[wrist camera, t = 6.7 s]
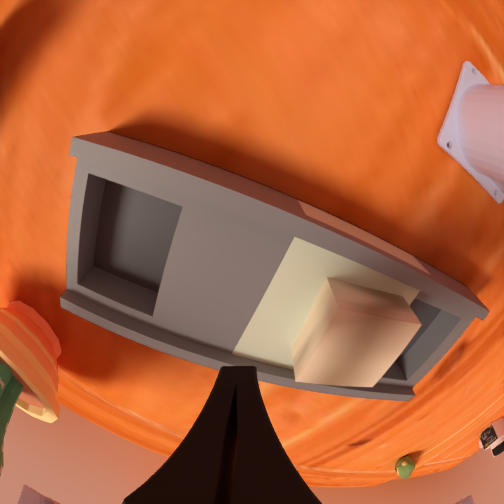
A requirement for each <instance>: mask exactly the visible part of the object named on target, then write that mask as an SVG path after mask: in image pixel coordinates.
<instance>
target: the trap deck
mask: <svg viewBox="0 0 504 504" xmlns="http://www.w3.org/2000/svg"><path fill="white" fill-rule="evenodd" d="M69 155H71V156H74V157H77V164H76V169H75V175H74V181H73V188H72V195H71V203H70V212H69V222H68V236H67V258H66V288H67V289H66V290H65V292H64V293H63V294H62V295H61V296H60V307H62V308H63V309H65V310H67V311H69V312H71V313H73V314H75V315H77V316H79V317H81V318H83V319H85V320H87V321H89V322H91V323H94V324H96V325H98V326H100V327H102V328H104V329H107V330H109V331H111V332H113V333H116V334H118V335H120V336H123V337H125V338H128V339H130V340H132V341H135V342H137V343H140V344H142V345H145V346H148V347H150V348H153V349H156V350H158V351H161V352H164V353H167V354H169V355H172V356H175V357H178V358H181V359H184V360H187V361H190V362H193V363H196V364H200V365H203V366H206V367H209V368H213V369H216V370H220V368H221V367H222V366H255V367H257V379H258V381H263V382H267V383H271V384H276V385H281V386H286V387H291V388H296V389H302V390H307V391H313V392H319V393H326V394H333V395H340V396H348V397H357V398H367V399H379V400H394V401H409V400H411V399H412V398H413V397H414V396H415V394H414V391H413V389H412V388H413V387H414V386H415V385H416V384H417V383H418V382H419V381H420V380H421V379H422V378H423V377H424V376H425V375H426V374H427V373H428V372H429V371H430V370H431V369H432V368H433V367H434V366H435V365H436V364H437V363H438V362H439V360H440V359H441V358H442V357H443V356H444V355H445V354H446V353H447V352H448V350H449V349H450V348H451V347H452V346H453V345H454V344H455V342H456V341H457V340H458V339H459V338H460V336H461V335H462V334H463V333H464V331H465V330H466V329H467V328H468V326H469V325H470V324H471V322H472V321H473V320H474V318H475V317H477V318H479V319H481V320H484V319H485V318H486V316H487V315H488V313H489V312H490V311H489V310H488V309H487V308H486V307H485V305H484V304H483V303H482V302H481V301H480V300H479V299H478V298H477V297H476V295H475V294H474V293H473V292H472V291H471V290H470V289H469V288H468V287H467V286H465V285H463V284H462V283H460V282H459V281H457V280H455V279H454V278H452V277H450V276H448V275H447V274H445V273H443V272H442V271H440V270H438V269H436V268H435V267H433V266H431V265H429V264H428V263H426V262H424V261H422V260H420V259H419V258H417V257H415V256H413V255H411V254H409V253H408V252H406V251H404V250H402V249H400V248H398V247H396V246H394V245H393V244H391V243H389V242H387V241H385V240H383V239H381V238H379V237H377V236H375V235H373V234H371V233H369V232H367V231H365V230H363V229H361V228H359V227H357V226H355V225H353V224H351V223H349V222H346V221H344V220H342V219H340V218H338V217H336V216H334V215H332V214H329V213H327V212H325V211H323V210H321V209H319V208H316V207H314V206H312V205H310V204H307V203H305V202H303V201H301V200H298V199H296V198H294V197H291V196H289V195H287V194H284V193H282V192H280V191H277V190H275V189H272V188H270V187H268V186H265V185H263V184H260V183H258V182H255V181H253V180H250V179H248V178H245V177H243V176H240V175H237V174H235V173H232V172H230V171H227V170H224V169H222V168H219V167H216V166H214V165H211V164H208V163H205V162H203V161H200V160H197V159H194V158H191V157H188V156H185V155H183V154H180V153H177V152H174V151H171V150H168V149H165V148H161V147H158V146H155V145H152V144H149V143H146V142H143V141H139V140H136V139H133V138H129V137H126V136H122V135H119V134H116V133H112V132H108V131H106V132H99V133H93V134H87V135H81V136H75V137H72V142H71V146H70V151H69ZM326 278H330V279H334V280H338V281H342V282H346V283H351V284H355V285H359V286H363V287H367V288H371V289H375V290H379V291H383V292H387V293H391V294H395V295H399V296H403V297H404V299H405V300H406V302H407V303H408V304H409V306H410V307H411V309H412V310H413V312H414V313H415V315H416V316H417V318H418V319H419V321H420V322H421V324H422V325H421V327H420V328H419V329H418V331H417V332H416V334H415V335H414V336H413V338H412V339H411V341H410V342H409V343H408V345H407V346H406V347H405V349H404V350H403V351H402V353H401V354H400V355H399V356H398V358H397V359H396V360H395V361H394V363H393V364H392V365H391V366H390V368H389V369H388V370H387V371H386V372H385V374H384V375H383V376H382V377H381V378H380V379H379V381H378V382H377V383H376V384H375V385H374V386H373V387H354V386H337V385H324V384H313V383H304V382H295V374H294V366H293V359H292V351H291V347H292V345H293V344H294V342H295V340H296V338H297V336H298V334H299V332H300V330H301V329H302V327H303V325H304V323H305V321H306V319H307V317H308V315H309V313H310V311H311V309H312V307H313V305H314V303H315V301H316V299H317V297H318V295H319V293H320V291H321V289H322V287H323V284H324V282H325V280H326Z"/></svg>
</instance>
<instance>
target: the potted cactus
mask: <svg viewBox="0 0 504 504" xmlns="http://www.w3.org/2000/svg"><path fill="white" fill-rule="evenodd" d="M61 353H62V351H61V347H60V343H59V339H58V338H57V336H56V335H55V333H54V332H53V330H52V329H51V327H50V325H49V324H48V322H46V321H45V320H44V319H43V318H42V317H41V316H40V315H39V314H38V313H37V312H36V311H35V310H34V309H33V308H32V307H30V306H28V305H26V304H25V303H23V302H21V301H19V300H18V301H12V302H10V303H9V305H8V307H7V308H0V475H1V471H2V468H3V439H4V435H5V432H6V429H7V426H8V423H9V421H10V418H11V415H12V412H13V410H14V407H15V405H16V406H17V407H19V408H20V409H22V410H23V411H25V412H26V413H28V414H29V415H31V416H33V417H35V418H38V419H40V420H43V421H46V422H49V423H52V422H54V421H55V420H57V419H58V416H59V411H60V405H59V403H58V401H57V391H58V383H59V375H58V368H57V358H58V357H59V355H60V354H61Z"/></svg>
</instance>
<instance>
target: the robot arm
mask: <svg viewBox="0 0 504 504" xmlns="http://www.w3.org/2000/svg"><path fill="white" fill-rule="evenodd" d="M472 71H473V72H472ZM437 142H438V145H439V146H440V147H441V148H442V149H443V150H444V151H446V152H447V153H448V154H449V155H450V156H451V157H452V158H453V159H455V160H456V161H457V162H458V163H459V164H460V165H461V166H462V167H463V168H464V169H465V170H466V171H467V172H468V173H469V174H470V175H471V176H472V177H473V178H474V179H475V180H476V181H477V182H478V183H479V184H480V185H481V186H482V187H483V188H484V189H485V190H486V191H487V192H488V193H489V195H490V196H491V197H492V198H493V199H494V200H495V201H496V202H497V203H499V204H500V203H502V201H503V199H504V85H494V84H490V83H489V82H488V81H487V80H486V79H485V77H484V76H483V75H482V74H481V73H480V72H479V71H478V70H477V69H476V68H475V67H474V66H473V64H472V63H470V62H469V61H465V62H464V63H463V66H462V69H461V72H460V76H459V79H458V82H457V86H456V89H455V92H454V95H453V98H452V101H451V103H450V106H449V109H448V112H447V114H446V117H445V120H444V122H443V125H442V127H441V130H440V132H439V135H438V138H437ZM447 143H449V147H447ZM18 504H59V503H58V502H56V501H54V500H52V499H50V498H48V497H45V496H44V495H42V494H40V493H38V492H37V491H35V490H33V489H32V488H30V487H28V486H27V485H24V486H23V489H22V492H21V495H20V498H19V502H18ZM122 504H322V503H321V502H320V501H319V499H318V498H317V497H316V496H315V495H314V493H313V492H312V491H311V490H310V489H309V487H308V486H307V484H306V483H305V482H304V480H303V479H302V477H301V476H300V474H299V473H298V471H297V470H296V469H295V467H294V466H293V464H292V462H291V461H290V459H289V457H288V456H287V454H286V452H285V450H284V449H283V447H282V445H281V443H280V441H279V439H278V437H277V435H276V433H275V431H274V428H273V426H272V424H271V422H270V419H269V417H268V414H267V411H266V408H265V406H264V403H263V400H262V396H261V393H260V389H259V384H258V379H257V367H255V366H222V367H221V368H220V371H219V374H218V377H217V379H216V382H215V384H214V387H213V389H212V391H211V393H210V396H209V398H208V399H207V401H206V403H205V405H204V407H203V409H202V411H201V413H200V415H199V416H198V418H197V420H196V421H195V423H194V425H193V426H192V428H191V429H190V431H189V432H188V434H187V435H186V437H185V438H184V440H183V441H182V442H181V444H180V445H179V446H178V448H177V449H176V450H175V451H174V453H173V454H172V455H171V456H170V457H169V459H168V460H167V461H166V462H165V463H164V464H163V465H162V467H161V468H159V470H157V472H155V474H154V475H152V476H151V477H150V478H149V479H148V480H147V481H146V482H145V483H144V484H142V485H141V486H140V487H139V488H137V489H136V490H135V491H134V492H133V493H131V494H130V495H129V496H127V497H126V498H125V499H124V501H123V503H122ZM455 504H474V503H473V499H472V496H468V497H466V498H464V499H462V500H460V501H458V502H457V503H455Z"/></svg>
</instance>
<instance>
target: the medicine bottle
mask: <svg viewBox="0 0 504 504" xmlns="http://www.w3.org/2000/svg"><path fill="white" fill-rule="evenodd" d="M479 438H480V440H481V442H482V445H483V447H484V450H487V449H488V448H490V447H491V452H492V454H493V456H494V457H495V456H497V455H499V454H500V453H501V452H503V451H504V420H503V418H502V417H501V418H499V419H497V420H496V421H494V422H492V423H491V424H489V425H488V426H487V427H486V428H485V429H484V430H483V431H482V432H481V433H480V434H479Z"/></svg>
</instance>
